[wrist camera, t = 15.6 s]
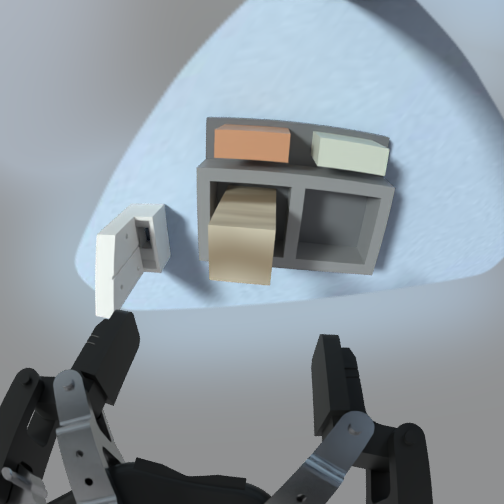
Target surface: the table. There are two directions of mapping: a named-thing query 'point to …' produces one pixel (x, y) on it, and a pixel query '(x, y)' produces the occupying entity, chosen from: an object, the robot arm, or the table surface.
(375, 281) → the table surface
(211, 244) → the tan rectangular block
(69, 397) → the robot arm
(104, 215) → the table surface
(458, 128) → the table surface
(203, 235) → the socket block
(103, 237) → the white angled block
